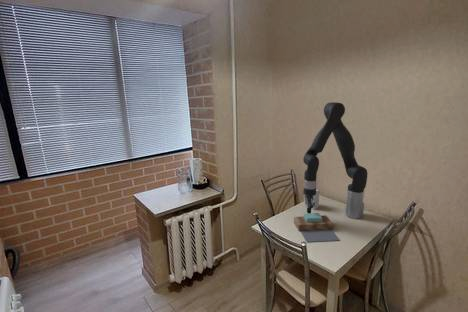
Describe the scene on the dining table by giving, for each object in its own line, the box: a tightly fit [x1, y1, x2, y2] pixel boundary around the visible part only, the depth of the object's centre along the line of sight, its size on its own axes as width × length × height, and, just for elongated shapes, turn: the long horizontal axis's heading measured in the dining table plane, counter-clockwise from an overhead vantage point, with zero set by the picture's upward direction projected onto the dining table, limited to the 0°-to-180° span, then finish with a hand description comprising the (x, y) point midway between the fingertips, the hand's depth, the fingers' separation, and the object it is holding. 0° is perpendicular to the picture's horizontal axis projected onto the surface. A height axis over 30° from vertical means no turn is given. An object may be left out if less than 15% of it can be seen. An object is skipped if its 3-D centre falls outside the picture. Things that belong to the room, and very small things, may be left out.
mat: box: [300, 230, 341, 243], centre depth 138 cm, size 18×11×1 cm, turn 92°
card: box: [303, 212, 322, 222], centre depth 148 cm, size 9×6×2 cm, turn 92°
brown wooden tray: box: [293, 214, 334, 232], centre depth 148 cm, size 20×10×4 cm, turn 92°
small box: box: [303, 188, 320, 211], centre depth 173 cm, size 8×6×13 cm
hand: (308, 212), depth 155 cm, fingers closed
